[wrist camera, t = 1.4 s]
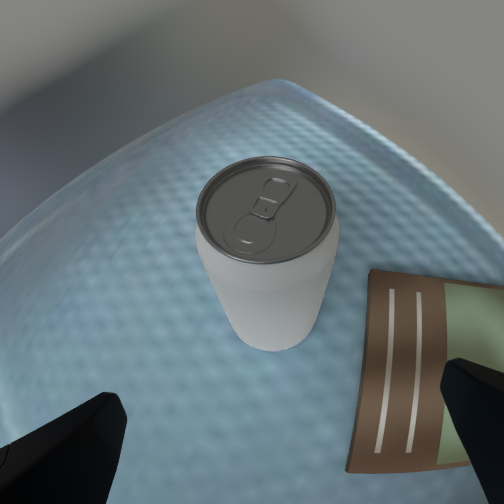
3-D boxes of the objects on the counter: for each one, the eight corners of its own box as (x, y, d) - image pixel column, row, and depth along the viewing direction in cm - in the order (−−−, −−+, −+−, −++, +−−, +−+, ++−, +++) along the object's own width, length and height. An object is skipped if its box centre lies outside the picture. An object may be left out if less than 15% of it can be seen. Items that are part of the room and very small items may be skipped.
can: (213, 330, 22) (154, 237, 12) (253, 260, 25) (233, 138, 14) (295, 367, 20) (313, 302, 10) (329, 289, 23) (362, 173, 12)
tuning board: (522, 450, 12) (530, 449, 11) (345, 470, 15) (348, 473, 14) (521, 293, 20) (527, 289, 19) (368, 275, 23) (371, 268, 22)
